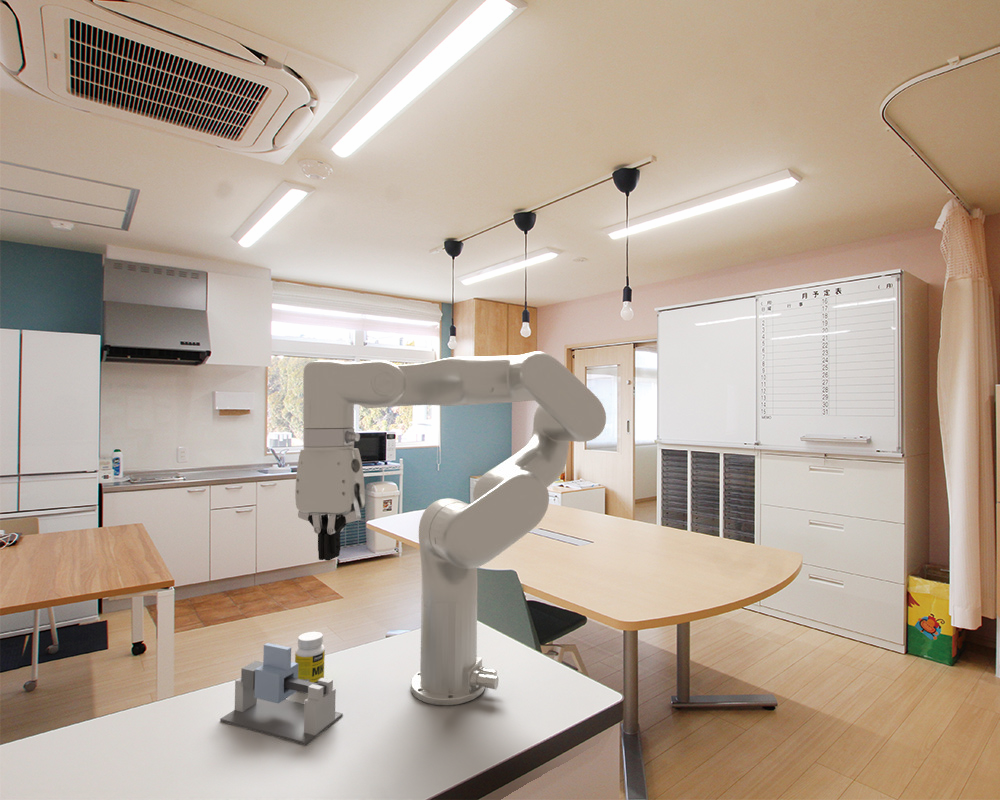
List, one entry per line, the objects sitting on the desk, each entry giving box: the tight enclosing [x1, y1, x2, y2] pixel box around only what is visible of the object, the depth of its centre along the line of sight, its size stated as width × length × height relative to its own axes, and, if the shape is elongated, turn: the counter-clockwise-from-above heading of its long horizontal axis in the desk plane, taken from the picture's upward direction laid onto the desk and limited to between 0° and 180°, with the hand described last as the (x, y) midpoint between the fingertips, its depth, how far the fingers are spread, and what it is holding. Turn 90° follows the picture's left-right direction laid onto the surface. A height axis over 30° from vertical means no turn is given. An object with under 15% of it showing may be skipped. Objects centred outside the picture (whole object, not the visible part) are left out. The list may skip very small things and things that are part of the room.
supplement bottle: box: [294, 631, 326, 684], centre depth 91 cm, size 5×5×8 cm
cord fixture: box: [219, 660, 344, 746], centre depth 81 cm, size 16×8×7 cm, turn 69°
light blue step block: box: [254, 642, 298, 704], centre depth 82 cm, size 5×4×7 cm
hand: (329, 557), depth 84 cm, fingers closed
